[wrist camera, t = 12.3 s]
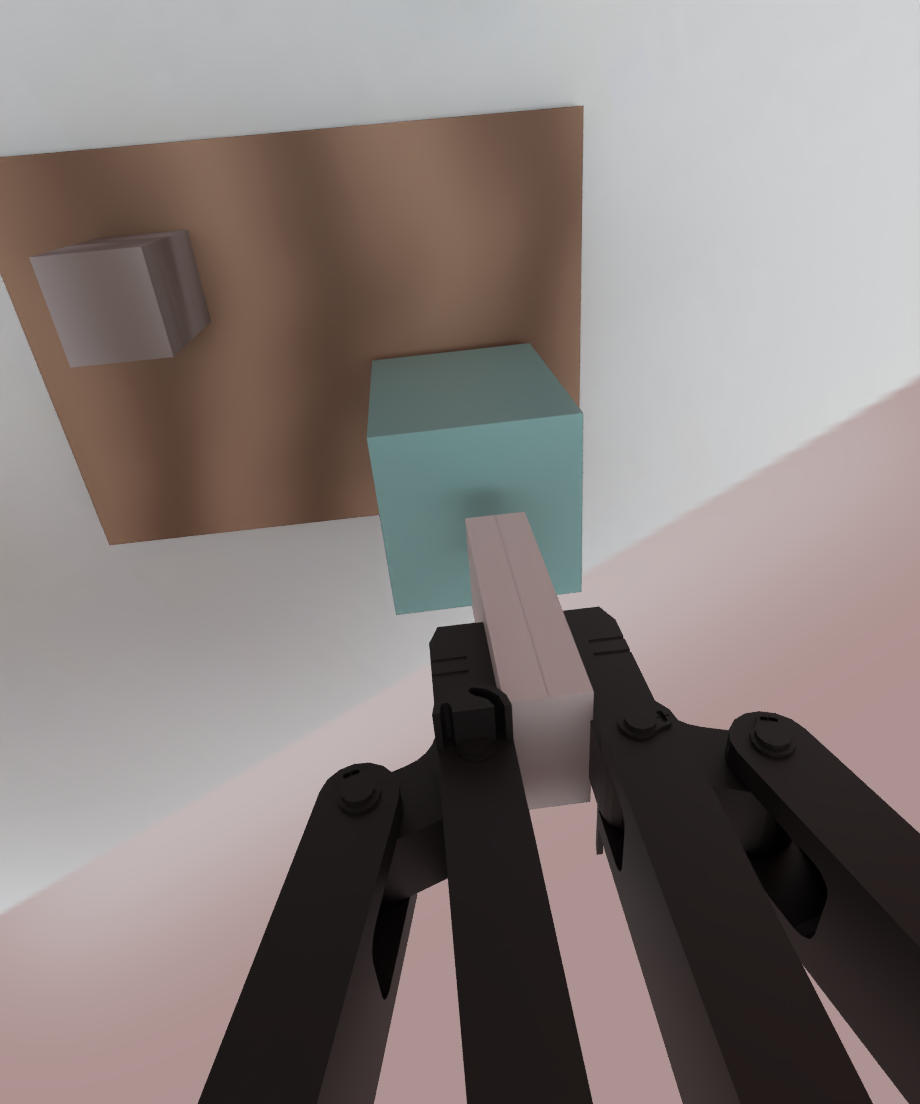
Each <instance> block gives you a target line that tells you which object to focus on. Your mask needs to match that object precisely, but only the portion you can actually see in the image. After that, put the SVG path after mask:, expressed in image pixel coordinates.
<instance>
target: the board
mask: <svg viewBox="0 0 920 1104" xmlns="http://www.w3.org/2000/svg"><path fill="white" fill-rule="evenodd" d="M582 175H583V106H574V107H563V108H551V109H540V110H529V111H518V112H506V113H495V114H484V115H473V116H461V117H450V118H439V119H428V120H416V121H405V122H394V123H382V124H371V125H360V126H349V127H337V128H326V129H315V130H304V131H292V132H281V133H270V134H259V135H247V136H236V137H225V138H214V139H202V140H191V141H180V142H169V143H157V144H146V145H135V146H124V147H112V148H101V149H90V150H78V151H67V152H56V153H45V154H33V155H22V156H11V157H0V273H1V276H2V278H3V281H4V283H5V286H6V288H7V291H8V293H9V296H10V298H11V301H12V303H13V306H14V308H15V311H16V313H17V316H18V318H19V321H20V323H21V326H22V328H23V331H24V333H25V336H26V338H27V341H28V343H29V346H30V348H31V351H32V353H33V356H34V358H35V361H36V363H37V366H38V368H39V370H40V373H41V375H42V378H43V380H44V383H45V385H46V388H47V390H48V393H49V395H50V398H51V400H52V403H53V405H54V408H55V410H56V413H57V415H58V418H59V420H60V423H61V425H62V428H63V430H64V433H65V435H66V438H67V440H68V443H69V445H70V448H71V450H72V453H73V455H74V458H75V460H76V463H77V465H78V468H79V470H80V473H81V475H82V478H83V480H84V483H85V485H86V488H87V490H88V493H89V495H90V498H91V500H92V503H93V505H94V508H95V510H96V513H97V515H98V517H99V520H100V522H101V525H102V527H103V530H104V532H105V535H106V537H107V540H108V542H109V545H116V544H124V543H133V542H142V541H151V540H160V539H169V538H178V537H186V536H195V535H204V534H213V533H222V532H231V531H240V530H249V529H257V528H266V527H275V526H284V525H293V524H302V523H311V522H319V521H328V520H337V519H346V518H355V517H364V516H373V515H379V509H378V503H377V497H376V491H375V485H374V479H373V473H372V467H371V461H370V455H369V449H368V443H367V426H368V412H369V398H370V383H371V369H372V361H373V360H382V359H391V358H400V357H409V356H418V355H427V354H436V353H445V352H454V351H463V350H472V349H481V348H490V347H499V346H508V345H517V344H526V343H530V344H531V345H532V347H533V348H534V349H535V351H536V352H537V353H538V355H539V356H540V357H541V359H542V360H543V361H544V362H545V364H546V365H547V366H548V368H549V369H550V370H551V372H552V373H553V374H554V376H555V377H556V378H557V379H558V381H559V382H560V383H561V385H562V386H563V387H564V389H565V390H566V391H567V393H568V394H569V395H570V396H571V398H572V399H573V400H574V402H575V403H576V404H577V406H578V407H579V390H580V318H581V246H582Z"/></svg>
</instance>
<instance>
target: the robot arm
mask: <svg viewBox="0 0 920 1104" xmlns="http://www.w3.org/2000/svg"><path fill="white" fill-rule="evenodd" d="M465 523H466V535H467V547H468V559H469V571H470V583H471V595H472V607H473V613H474V618H475V623H470V624H461V625H453V626H444V627H437V629H436V631H435V633H434V635H433V637H432V639H431V641H430V643H429V647H430V659H431V670H432V682H433V694H434V708H433V714H432V717H433V724H434V732H435V739H434V741H433V744H432V746H431V747H430V748H429V750H428V751H427V752H426V754H424V755H423V756H422V757H421V758H419V759H418V760H417V761H415V762H413V763H411V764H409V765H407V766H405V767H403V768H400V769H398V770H396V771H393V772H391V771H389V770H388V769H387V768H385V767H384V766H381V765H377V764H373V763H361V764H353V765H351V766H348V767H346V768H344V769H341V770H339V771H338V772H337V773H335V774H334V775H333V776H332V777H330V778H329V779H328V780H327V781H326V783H325V784H324V786H323V787H322V789H321V791H320V792H319V795H318V798H317V800H316V803H315V805H314V808H313V810H312V813H311V816H310V818H309V820H308V823H307V826H306V828H305V831H304V834H303V836H302V838H301V841H300V843H299V846H298V849H297V851H296V854H295V856H294V859H293V862H292V864H291V866H290V869H289V872H288V874H287V877H286V879H285V882H284V884H283V887H282V889H281V892H280V895H279V897H278V900H277V902H276V905H275V908H274V910H273V913H272V915H271V918H270V920H269V923H268V925H267V928H266V930H265V933H264V935H263V938H262V941H261V943H260V946H259V949H258V951H257V953H256V956H255V958H254V961H253V964H252V966H251V969H250V971H249V974H248V977H247V979H246V981H245V984H244V987H243V989H242V992H241V994H240V997H239V999H238V1002H237V1004H236V1007H235V1010H234V1012H233V1015H232V1017H231V1020H230V1022H229V1025H228V1027H227V1030H226V1033H225V1035H224V1038H223V1040H222V1043H221V1045H220V1048H219V1051H218V1053H217V1056H216V1058H215V1061H214V1063H213V1066H212V1069H211V1071H210V1074H209V1076H208V1079H207V1081H206V1084H205V1086H204V1089H203V1091H202V1094H201V1097H200V1099H199V1102H198V1104H374V1100H375V1095H376V1090H377V1085H378V1081H379V1076H380V1071H381V1066H382V1061H383V1057H384V1052H385V1047H386V1042H387V1037H388V1033H389V1028H390V1023H391V1019H392V1013H393V1009H394V1004H395V999H396V995H397V990H398V985H399V980H400V975H401V971H402V966H403V961H404V956H405V951H406V946H407V942H408V937H409V932H410V927H411V922H412V918H413V913H414V908H415V903H416V899H417V893H418V892H420V891H422V890H424V889H426V888H428V887H431V886H432V885H435V884H437V883H439V882H441V881H443V880H445V879H447V878H448V885H449V895H450V896H449V897H450V909H451V920H452V932H453V944H454V955H455V967H456V979H457V991H458V1002H459V1013H460V1026H461V1036H462V1037H461V1038H462V1049H463V1061H464V1072H465V1084H466V1096H467V1104H593V1102H592V1097H591V1093H590V1088H589V1084H588V1079H587V1074H586V1070H585V1065H584V1061H583V1056H582V1052H581V1047H580V1043H579V1038H578V1033H577V1029H576V1024H575V1019H574V1015H573V1010H572V1006H571V1001H570V997H569V992H568V988H567V983H566V978H565V973H564V969H563V964H562V960H561V955H560V951H559V946H558V942H557V937H556V932H555V928H554V923H553V918H552V914H551V910H550V905H549V900H548V895H547V891H546V886H545V882H544V877H543V873H542V868H541V863H540V859H539V854H538V850H537V845H536V840H535V836H534V831H533V827H532V822H531V817H530V813H529V810H530V809H537V808H545V807H553V806H561V805H568V804H576V803H584V802H590V793H591V786H592V789H593V792H594V795H595V798H596V801H597V804H598V805H597V807H598V808H597V830H596V850H597V855H598V854H603V846H604V849H605V852H606V856H607V859H608V862H609V865H610V869H611V872H612V875H613V878H614V882H615V885H616V888H617V891H618V895H619V898H620V901H621V904H622V907H623V911H624V914H625V917H626V921H627V923H628V927H629V930H630V933H631V937H632V940H633V943H634V947H635V950H636V953H637V956H638V960H639V963H640V966H641V969H642V973H643V976H644V979H645V982H646V985H647V989H648V992H649V995H650V998H651V1002H652V1005H653V1008H654V1011H655V1015H656V1018H657V1021H658V1024H659V1028H660V1031H661V1034H662V1037H663V1041H664V1044H665V1047H666V1050H667V1053H668V1057H669V1060H670V1063H671V1067H672V1070H673V1073H674V1076H675V1080H676V1083H677V1086H678V1089H679V1092H680V1096H681V1099H682V1102H683V1104H873V1103H872V1101H871V1099H870V1097H869V1095H868V1093H867V1091H866V1089H865V1087H864V1085H863V1083H862V1081H861V1079H860V1077H859V1076H858V1074H857V1071H856V1070H855V1068H854V1066H853V1064H852V1062H851V1060H850V1058H849V1056H848V1054H847V1052H846V1050H845V1048H844V1046H843V1044H842V1042H841V1040H840V1038H839V1036H838V1034H837V1032H836V1030H835V1028H834V1026H833V1024H832V1022H831V1020H830V1018H829V1016H828V1015H827V1012H826V1011H825V1009H824V1007H823V1005H822V1003H821V1001H820V999H819V997H818V995H817V993H816V991H815V989H814V987H813V985H812V983H811V981H810V979H809V977H808V975H807V973H806V971H805V969H804V967H805V968H806V969H807V971H808V972H809V973H810V974H811V976H812V977H813V979H814V980H815V981H816V983H817V984H818V985H819V987H820V988H821V989H822V991H823V992H824V993H825V994H826V995H827V997H828V998H829V1000H830V1001H831V1002H832V1004H833V1005H834V1006H835V1007H836V1009H837V1010H838V1011H839V1013H840V1014H841V1015H842V1017H843V1018H844V1019H845V1021H846V1022H847V1023H848V1024H849V1026H850V1027H851V1028H852V1030H853V1031H854V1032H855V1034H856V1035H857V1036H858V1038H859V1039H860V1040H861V1042H862V1043H863V1044H864V1045H865V1047H866V1048H867V1049H868V1051H869V1052H870V1053H871V1055H872V1056H873V1057H874V1058H875V1060H876V1061H877V1062H878V1064H879V1065H880V1066H881V1068H882V1069H883V1070H884V1071H885V1073H886V1074H887V1076H888V1077H889V1078H890V1079H891V1081H892V1082H893V1083H894V1085H895V1086H896V1087H897V1089H898V1090H899V1091H900V1093H901V1094H902V1095H903V1096H904V1098H905V1099H906V1100H907V1102H908V1103H909V1104H920V833H919V832H917V831H916V830H915V829H914V828H913V827H912V826H911V825H910V824H909V823H908V822H906V821H905V820H904V819H903V818H902V817H901V816H900V815H899V814H898V813H897V812H896V811H894V810H893V809H892V808H891V807H890V806H889V805H888V804H887V803H886V802H885V801H883V800H882V799H881V798H880V797H879V796H878V795H877V794H876V793H875V792H874V791H873V790H871V789H870V788H869V787H868V786H867V785H866V784H865V783H864V782H863V781H862V780H860V779H859V778H858V777H857V776H856V775H855V774H854V773H853V772H852V771H851V770H850V769H849V768H847V767H846V766H845V765H844V764H843V763H842V762H841V761H840V760H839V759H838V758H837V757H835V756H834V755H833V754H832V753H831V752H830V751H829V750H828V749H827V748H826V747H825V746H823V745H822V744H821V743H820V742H819V741H818V740H817V739H816V738H815V737H814V736H812V735H811V734H810V733H809V732H808V731H807V730H806V729H805V728H803V727H802V726H800V725H799V724H798V723H796V722H794V721H793V720H792V719H789V718H787V717H784V716H781V715H778V714H776V713H769V712H760V711H758V712H752V713H746V714H743V715H742V716H740V717H738V718H737V719H735V720H734V721H733V723H732V725H731V727H730V729H729V730H721V729H713V728H706V727H699V726H694V725H689V724H686V723H684V722H681V721H679V720H677V718H676V717H675V716H674V715H673V713H672V712H671V711H670V710H669V709H668V708H666V707H665V706H663V705H661V704H659V703H658V702H656V701H655V700H654V698H653V696H652V694H651V692H650V690H649V688H648V686H647V683H646V681H645V679H644V677H643V676H642V673H641V671H640V669H639V667H638V665H637V663H636V661H635V659H634V657H633V655H632V653H631V652H630V649H629V647H628V645H627V643H626V641H625V639H623V634H622V632H621V630H620V628H619V626H618V624H617V622H616V620H615V619H614V618H613V617H611V616H610V615H609V614H607V613H606V612H605V611H604V610H603V609H601V608H600V607H593V608H583V609H575V610H567V611H563V610H562V608H561V605H560V602H559V600H558V597H557V595H556V592H555V589H554V587H553V584H552V582H551V579H550V576H549V574H548V571H547V568H546V566H545V563H544V561H543V558H542V555H541V553H540V550H539V548H538V545H537V542H536V540H535V537H534V535H533V532H532V529H531V527H530V524H529V521H528V519H527V516H526V514H525V512H517V513H508V514H499V515H490V516H481V517H473V518H465ZM802 964H803V965H802ZM803 966H804V967H803Z"/></svg>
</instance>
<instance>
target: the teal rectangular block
mask: <svg viewBox="0 0 920 1104" xmlns="http://www.w3.org/2000/svg"><path fill="white" fill-rule="evenodd" d="M367 443H368V449H369V455H370V461H371V467H372V473H373V479H374V485H375V491H376V497H377V503H378V509H379V515H380V521H381V527H382V533H383V539H384V545H385V551H386V557H387V563H388V569H389V575H390V581H391V587H392V593H393V599H394V605H395V611H396V615H400V614H408V613H416V612H424V611H432V610H440V609H448V608H456V607H464V606H472V595H471V583H470V571H469V559H468V547H467V535H466V523H465V518H473V517H481V516H490V515H499V514H508V513H517V512H525V514H526V516H527V519H528V521H529V524H530V527H531V529H532V532H533V535H534V537H535V540H536V542H537V545H538V548H539V550H540V553H541V555H542V558H543V561H544V563H545V566H546V568H547V571H548V574H549V576H550V579H551V582H552V584H553V587H554V589H555V592H556V595H559V594H567V593H575V592H581V584H582V479H583V412H582V411H581V410H580V408H579V407H578V406H577V404H576V403H575V402H574V400H573V399H572V398H571V396H570V395H569V394H568V393H567V391H566V390H565V389H564V387H563V386H562V385H561V383H560V382H559V381H558V379H557V378H556V377H555V376H554V374H553V373H552V372H551V370H550V369H549V368H548V366H547V365H546V364H545V362H544V361H543V360H542V359H541V357H540V356H539V355H538V353H537V352H536V351H535V349H534V348H533V347H532V345H531V344H530V343H526V344H517V345H508V346H499V347H490V348H481V349H472V350H463V351H454V352H445V353H436V354H427V355H418V356H409V357H400V358H391V359H382V360H373V361H372V369H371V383H370V398H369V412H368V426H367Z"/></svg>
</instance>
